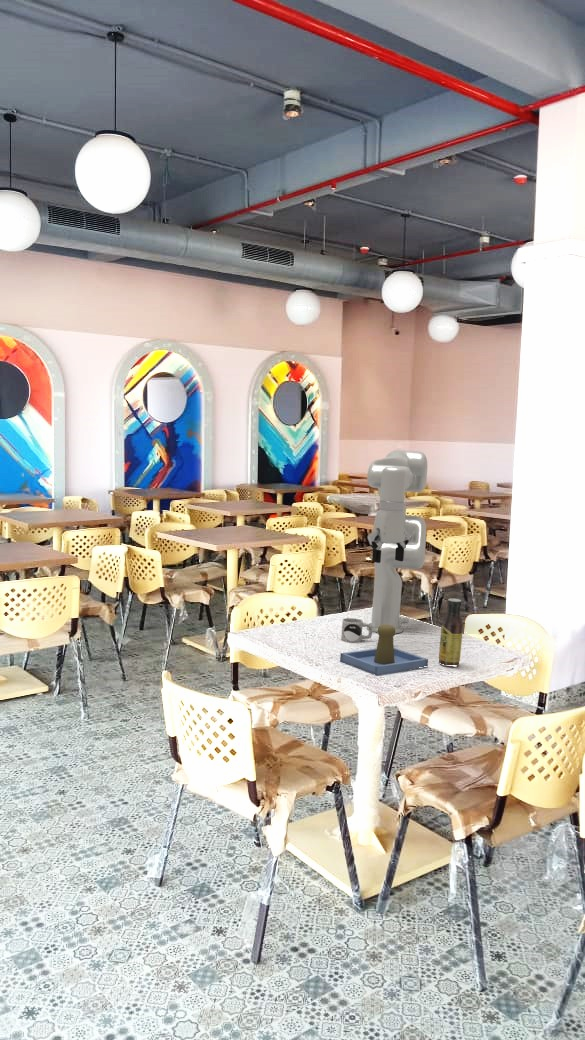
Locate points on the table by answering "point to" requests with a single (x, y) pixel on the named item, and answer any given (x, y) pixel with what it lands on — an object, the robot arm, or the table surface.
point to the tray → (366, 663)
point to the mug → (354, 630)
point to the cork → (385, 645)
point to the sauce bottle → (451, 634)
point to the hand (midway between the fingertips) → (387, 561)
